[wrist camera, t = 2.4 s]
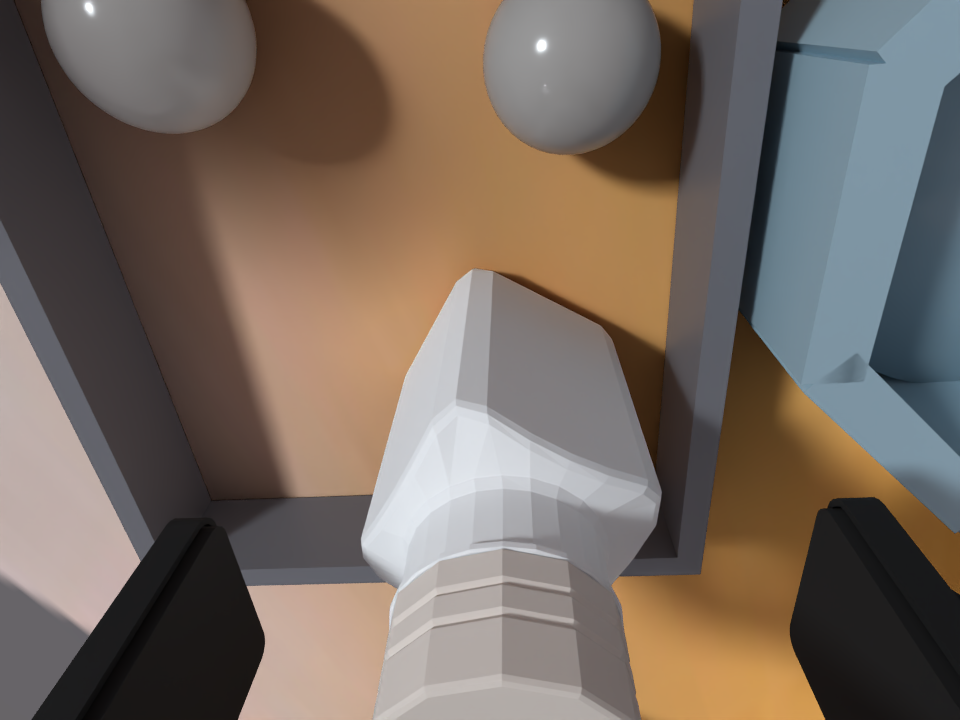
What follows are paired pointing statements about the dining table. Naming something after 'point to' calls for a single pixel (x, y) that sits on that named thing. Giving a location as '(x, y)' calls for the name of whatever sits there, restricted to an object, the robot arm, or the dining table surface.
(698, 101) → the parts tray
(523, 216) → the dining table surface
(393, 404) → the dining table surface
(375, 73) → the dining table surface
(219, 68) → the pebble
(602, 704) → the pepper shaker
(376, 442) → the dining table surface
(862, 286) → the bowl
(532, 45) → the pebble
